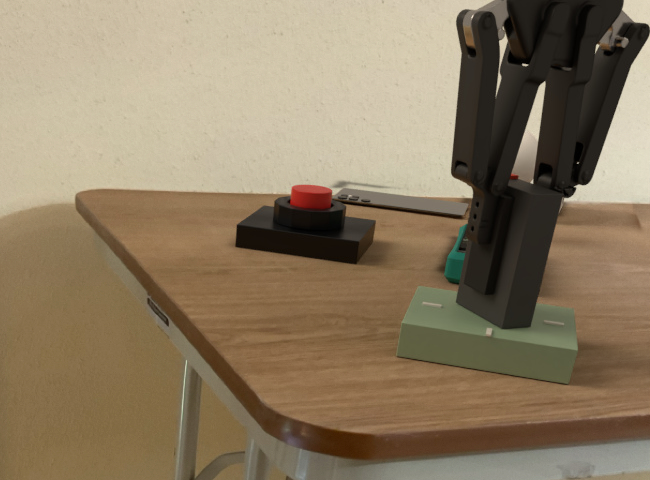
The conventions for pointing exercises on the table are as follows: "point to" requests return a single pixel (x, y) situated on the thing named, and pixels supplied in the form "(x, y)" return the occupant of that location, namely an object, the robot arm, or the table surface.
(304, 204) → the button
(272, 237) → the button box
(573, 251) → the table surface
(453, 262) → the digital multimeter
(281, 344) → the table surface
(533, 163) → the lightbulb
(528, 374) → the panel
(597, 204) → the table surface
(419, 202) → the smartphone
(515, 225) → the switch lever
